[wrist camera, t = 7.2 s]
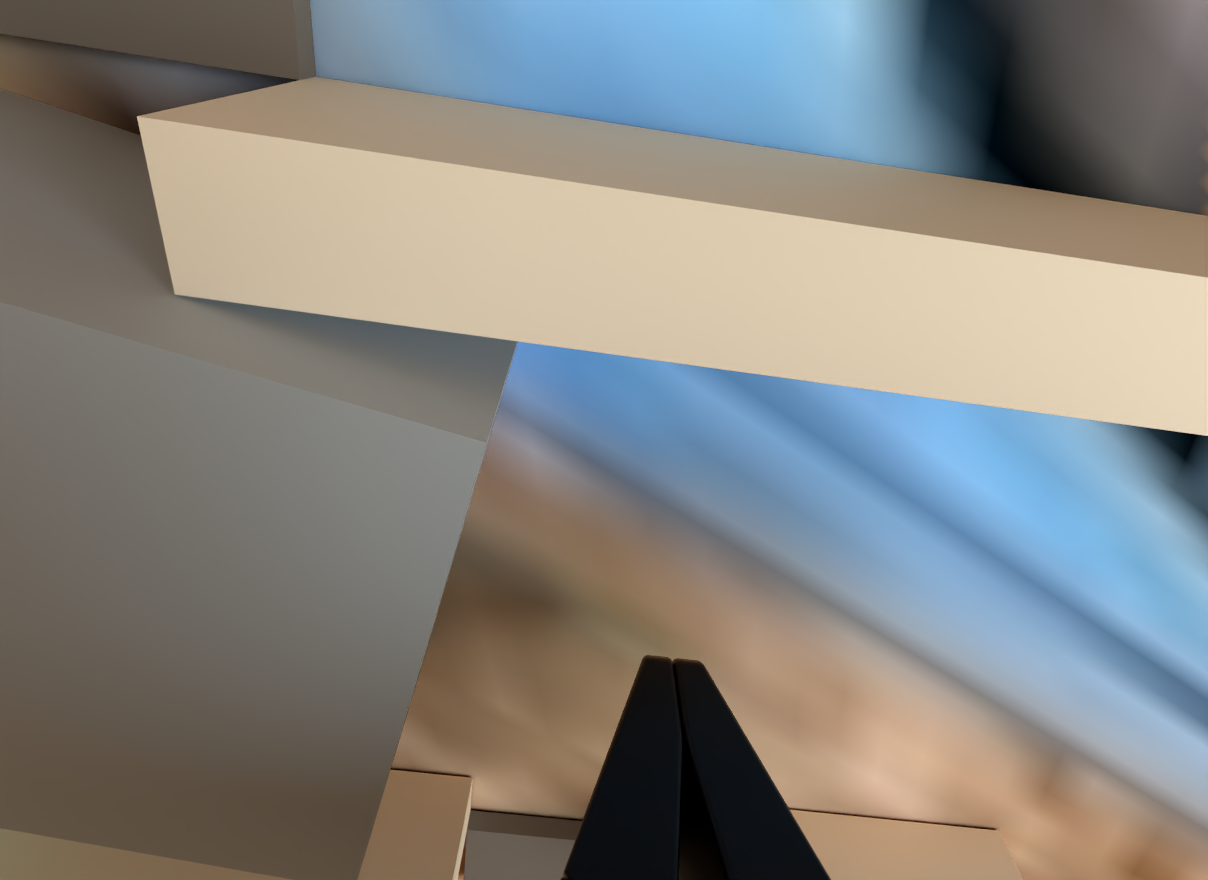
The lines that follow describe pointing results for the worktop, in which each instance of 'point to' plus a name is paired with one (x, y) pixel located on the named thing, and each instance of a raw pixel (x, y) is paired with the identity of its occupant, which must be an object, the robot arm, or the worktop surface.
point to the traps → (285, 49)
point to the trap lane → (666, 315)
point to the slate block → (207, 530)
